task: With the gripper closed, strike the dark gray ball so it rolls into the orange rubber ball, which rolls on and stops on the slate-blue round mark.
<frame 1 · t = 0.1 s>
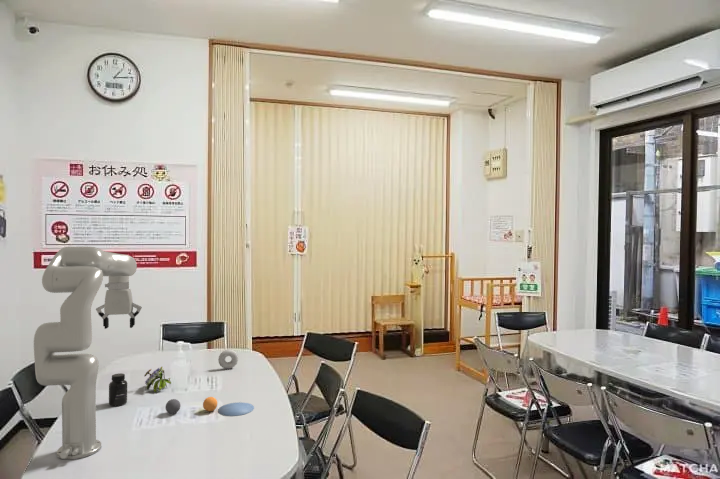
hand: (119, 327, 202), 31 cm above the table, tool pointing down, fingers open, 9 cm apart
passion flower: (157, 389, 219), on the table
supplement bottle: (118, 404, 200), on the table
dark gray ball: (172, 406, 190), on the table
donut: (228, 369, 251), on the table
object ball: (210, 404, 193), on the table
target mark: (236, 409, 195), on the table
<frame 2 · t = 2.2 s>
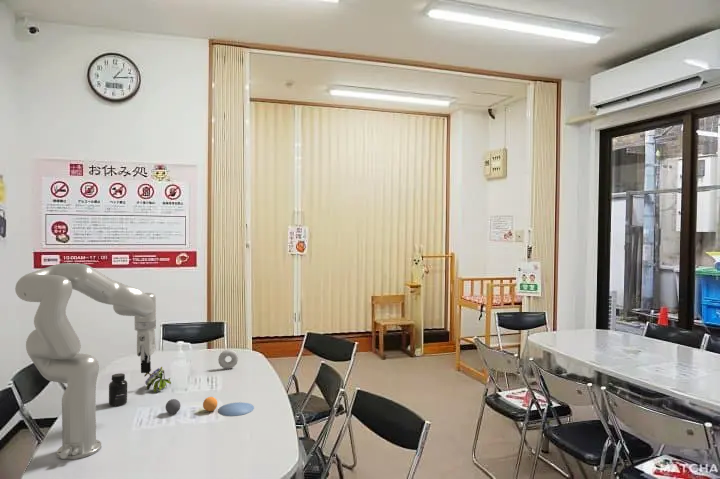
hand: (145, 372, 188), 17 cm above the table, tool pointing down, fingers closed
nothing on the table moved.
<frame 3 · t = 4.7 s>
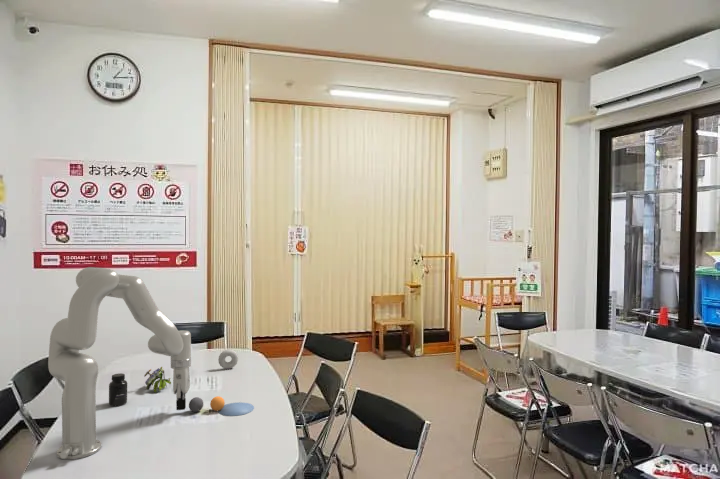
hand: (181, 409, 191), 2 cm above the table, tool pointing down, fingers closed
dark gray ball: (196, 404, 192), on the table
object ball: (217, 403, 194), on the table
everything else where it was.
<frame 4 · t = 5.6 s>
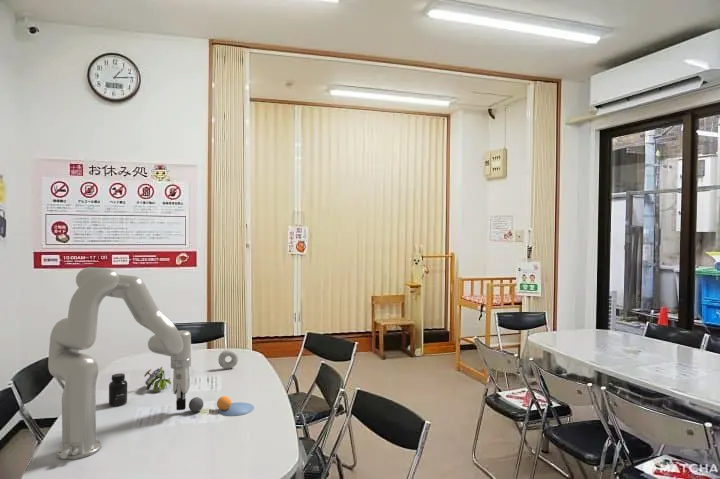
hand: (181, 409, 191), 2 cm above the table, tool pointing down, fingers closed
object ball: (224, 403, 194), on the table
everything else where it was.
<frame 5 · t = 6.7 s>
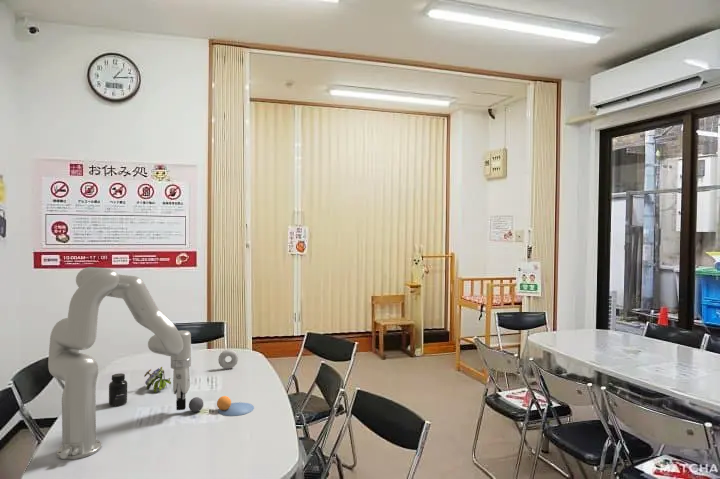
hand: (181, 409, 191), 2 cm above the table, tool pointing down, fingers closed
nothing on the table moved.
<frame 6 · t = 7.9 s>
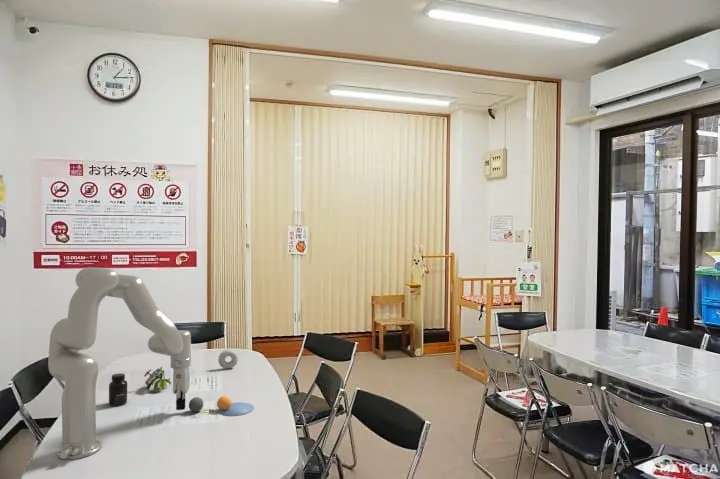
hand: (180, 408, 191), 2 cm above the table, tool pointing down, fingers closed
nothing on the table moved.
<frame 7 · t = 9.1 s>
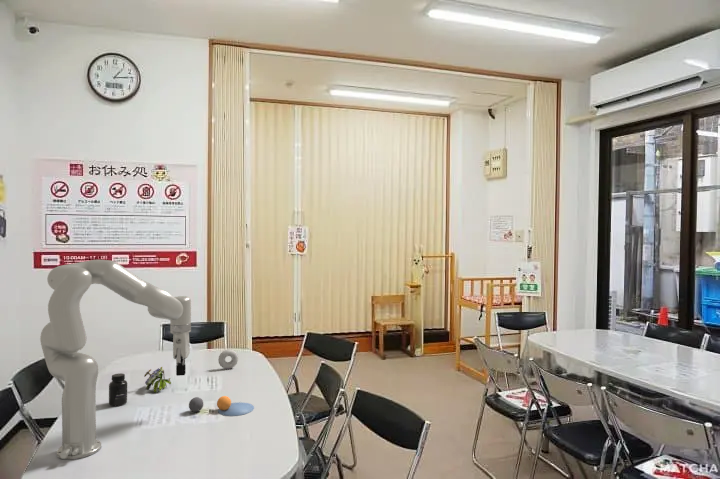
hand: (180, 374, 191), 15 cm above the table, tool pointing down, fingers closed
nothing on the table moved.
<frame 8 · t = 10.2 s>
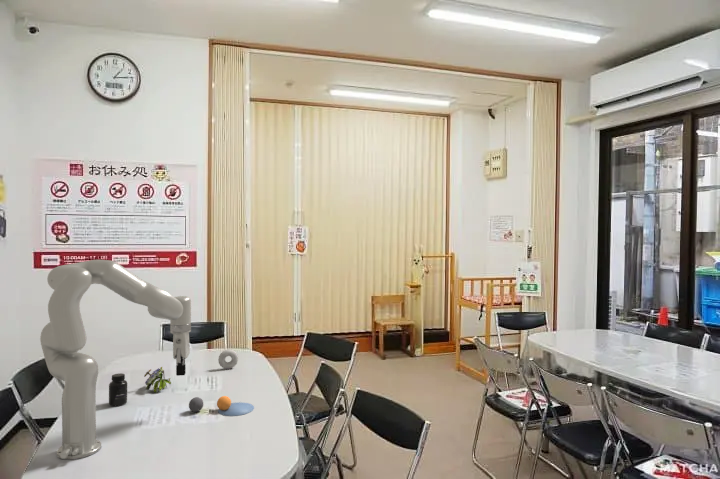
hand: (180, 374, 191), 15 cm above the table, tool pointing down, fingers closed
nothing on the table moved.
at the end: object ball 4.7 cm from the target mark (horizontally); object ball never touched the robot; dark gray ball first touched object ball at 4.3 s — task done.
